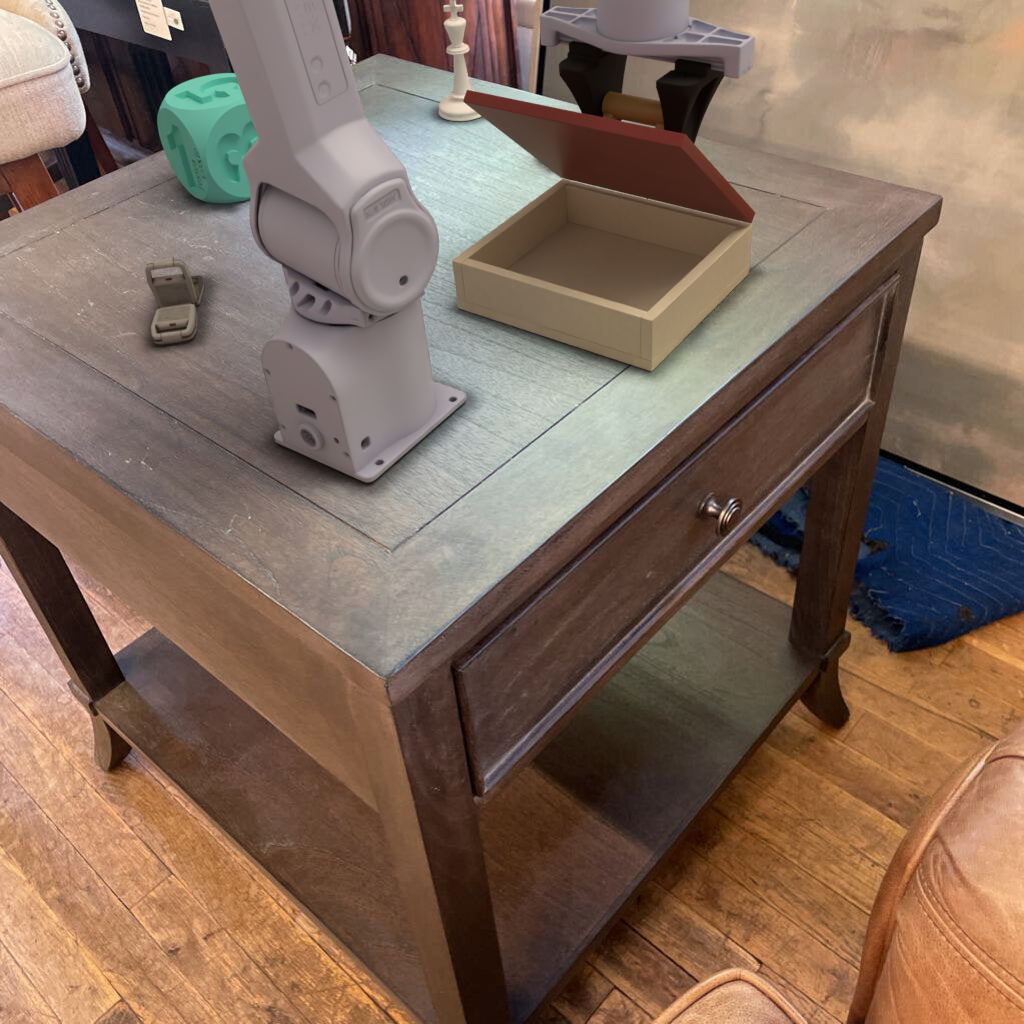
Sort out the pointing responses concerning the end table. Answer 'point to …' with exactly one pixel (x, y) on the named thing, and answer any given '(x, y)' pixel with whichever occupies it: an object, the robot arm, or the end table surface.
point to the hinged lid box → (604, 271)
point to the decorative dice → (208, 137)
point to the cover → (616, 150)
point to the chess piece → (457, 69)
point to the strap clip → (174, 302)
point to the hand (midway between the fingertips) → (642, 164)
